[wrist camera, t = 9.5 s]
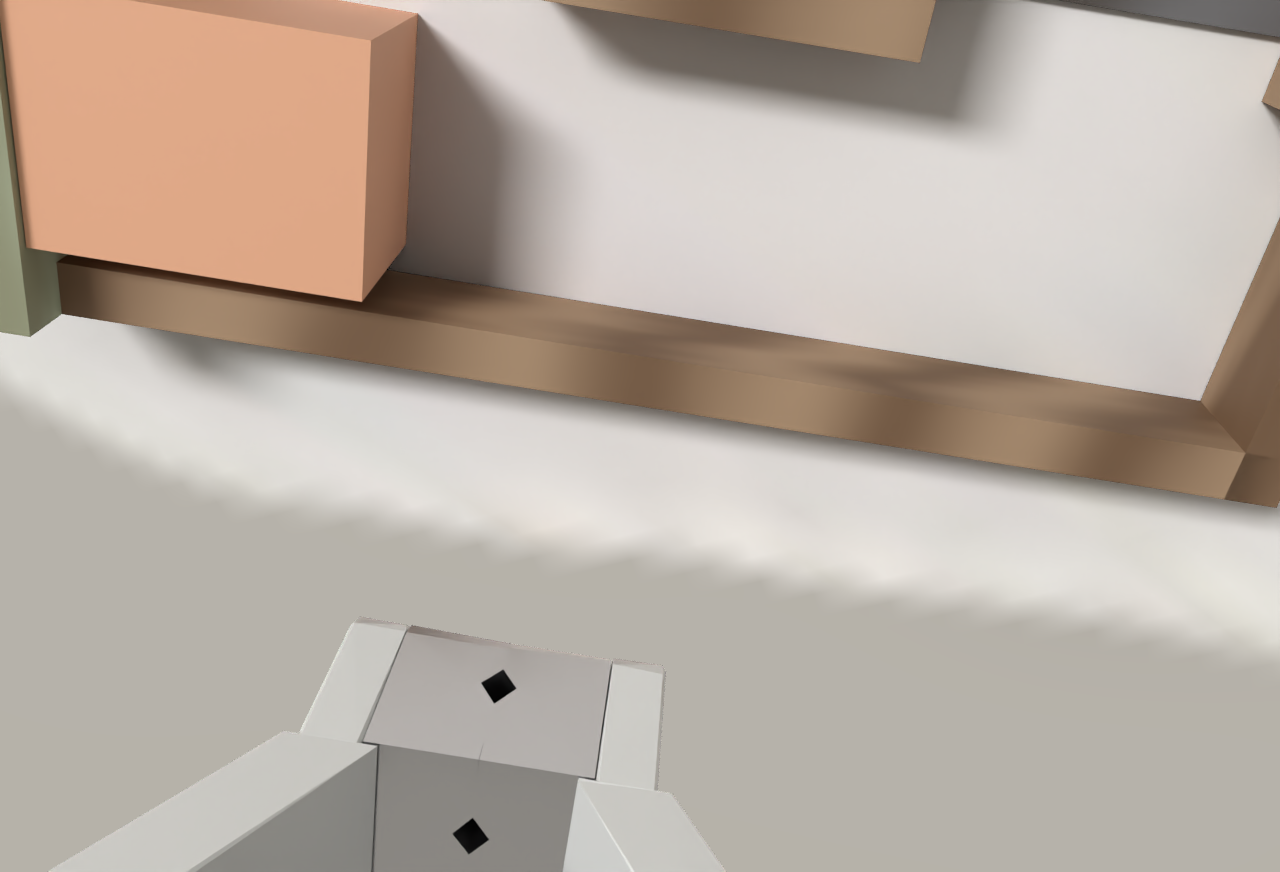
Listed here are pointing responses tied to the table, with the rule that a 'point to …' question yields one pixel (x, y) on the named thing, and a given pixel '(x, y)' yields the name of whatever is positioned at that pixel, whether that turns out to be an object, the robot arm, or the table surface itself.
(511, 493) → the table surface
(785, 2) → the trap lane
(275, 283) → the terracotta block
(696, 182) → the table surface
